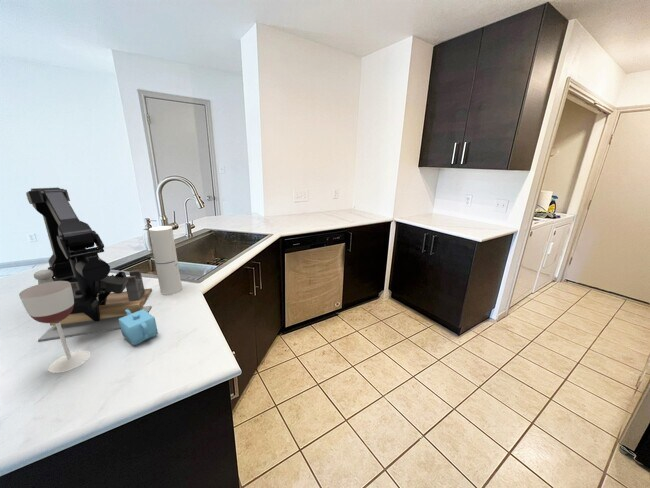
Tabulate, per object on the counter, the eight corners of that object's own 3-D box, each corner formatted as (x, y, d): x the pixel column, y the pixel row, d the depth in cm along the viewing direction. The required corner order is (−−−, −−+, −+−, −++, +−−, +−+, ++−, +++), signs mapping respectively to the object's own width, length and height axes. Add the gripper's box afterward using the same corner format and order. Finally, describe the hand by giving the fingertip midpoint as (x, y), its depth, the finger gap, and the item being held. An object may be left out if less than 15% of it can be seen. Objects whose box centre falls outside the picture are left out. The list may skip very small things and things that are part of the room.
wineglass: (53, 379, 58) (24, 301, 52) (42, 363, 62) (14, 290, 56) (97, 358, 64) (76, 287, 58) (84, 345, 69) (63, 277, 63)
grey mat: (62, 319, 79) (61, 317, 79) (151, 307, 87) (151, 305, 87) (38, 341, 70) (37, 339, 69) (141, 325, 77) (141, 323, 77)
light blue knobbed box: (118, 334, 74) (112, 311, 71) (142, 323, 78) (137, 302, 76) (136, 350, 67) (130, 326, 65) (161, 338, 72) (156, 315, 70)
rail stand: (80, 299, 91) (73, 273, 88) (152, 290, 98) (147, 266, 95) (60, 317, 80) (51, 289, 77) (142, 306, 88) (136, 279, 85)
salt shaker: (50, 311, 83) (37, 275, 79) (36, 309, 84) (23, 273, 80) (70, 302, 89) (59, 268, 85) (57, 300, 90) (46, 266, 86)
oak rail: (56, 320, 76) (53, 311, 75) (143, 308, 83) (141, 300, 82) (50, 326, 73) (47, 316, 72) (140, 313, 80) (138, 304, 79)
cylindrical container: (156, 292, 97) (144, 229, 90) (173, 284, 103) (163, 225, 96) (169, 296, 95) (158, 231, 87) (186, 288, 101) (176, 227, 93)
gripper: (107, 281, 68) (119, 331, 72) (131, 257, 84) (140, 299, 89) (53, 287, 64) (70, 339, 69) (89, 261, 81) (101, 304, 85)
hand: (100, 318), depth 78 cm, fingers closed on oak rail, 3 cm apart
